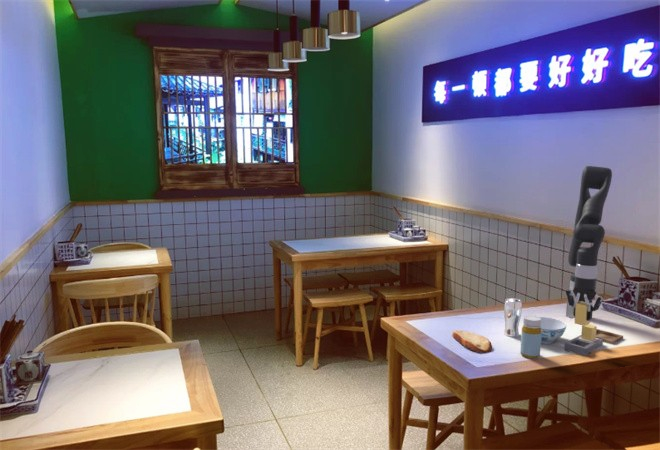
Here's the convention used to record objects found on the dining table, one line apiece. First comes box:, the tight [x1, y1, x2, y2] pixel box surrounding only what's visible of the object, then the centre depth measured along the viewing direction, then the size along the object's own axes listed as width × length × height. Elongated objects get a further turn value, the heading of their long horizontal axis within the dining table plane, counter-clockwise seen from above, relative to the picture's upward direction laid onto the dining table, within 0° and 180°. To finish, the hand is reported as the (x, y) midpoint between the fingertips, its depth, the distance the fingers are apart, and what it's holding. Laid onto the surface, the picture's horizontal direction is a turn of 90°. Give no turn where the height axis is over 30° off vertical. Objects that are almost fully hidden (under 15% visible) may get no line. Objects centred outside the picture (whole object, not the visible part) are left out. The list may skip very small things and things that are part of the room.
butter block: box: [574, 302, 591, 326], centre depth 208 cm, size 4×4×8 cm
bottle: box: [519, 314, 542, 360], centre depth 204 cm, size 7×7×15 cm
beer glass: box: [503, 297, 523, 338], centre depth 227 cm, size 7×7×15 cm
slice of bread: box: [451, 329, 493, 354], centre depth 218 cm, size 18×18×4 cm
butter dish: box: [564, 324, 604, 357], centre depth 212 cm, size 8×15×8 cm, turn 130°
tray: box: [596, 328, 624, 345], centre depth 222 cm, size 11×10×2 cm
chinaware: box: [539, 316, 567, 345], centre depth 220 cm, size 15×15×8 cm
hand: (582, 318), depth 208 cm, fingers closed on butter block, 4 cm apart
